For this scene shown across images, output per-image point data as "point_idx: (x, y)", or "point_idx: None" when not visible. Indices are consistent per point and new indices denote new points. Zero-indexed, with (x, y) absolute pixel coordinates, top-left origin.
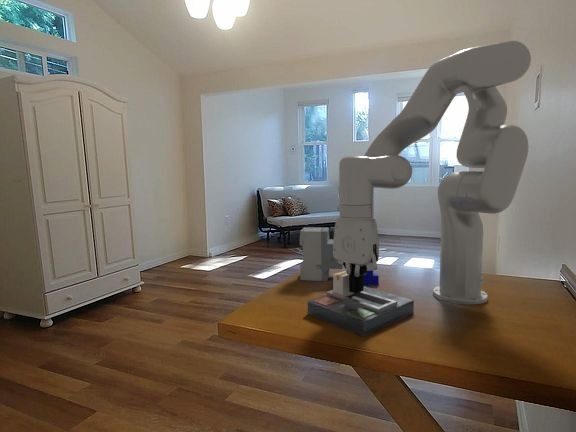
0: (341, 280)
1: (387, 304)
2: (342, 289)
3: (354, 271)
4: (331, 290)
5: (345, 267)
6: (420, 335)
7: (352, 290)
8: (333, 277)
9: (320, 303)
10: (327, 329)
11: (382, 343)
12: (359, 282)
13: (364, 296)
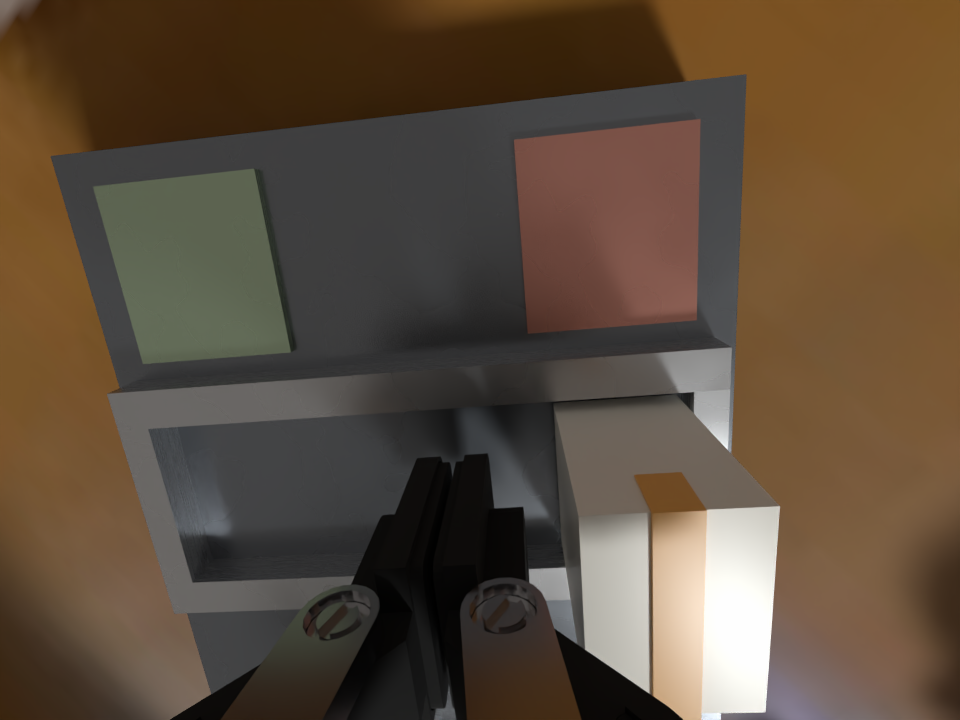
0: (594, 482)
1: (156, 516)
2: (564, 433)
3: (458, 683)
4: (726, 415)
5: (614, 683)
6: (19, 452)
7: (445, 467)
8: (749, 479)
9: (587, 131)
10: (361, 36)
11: (17, 200)
12: (362, 561)
13: None
